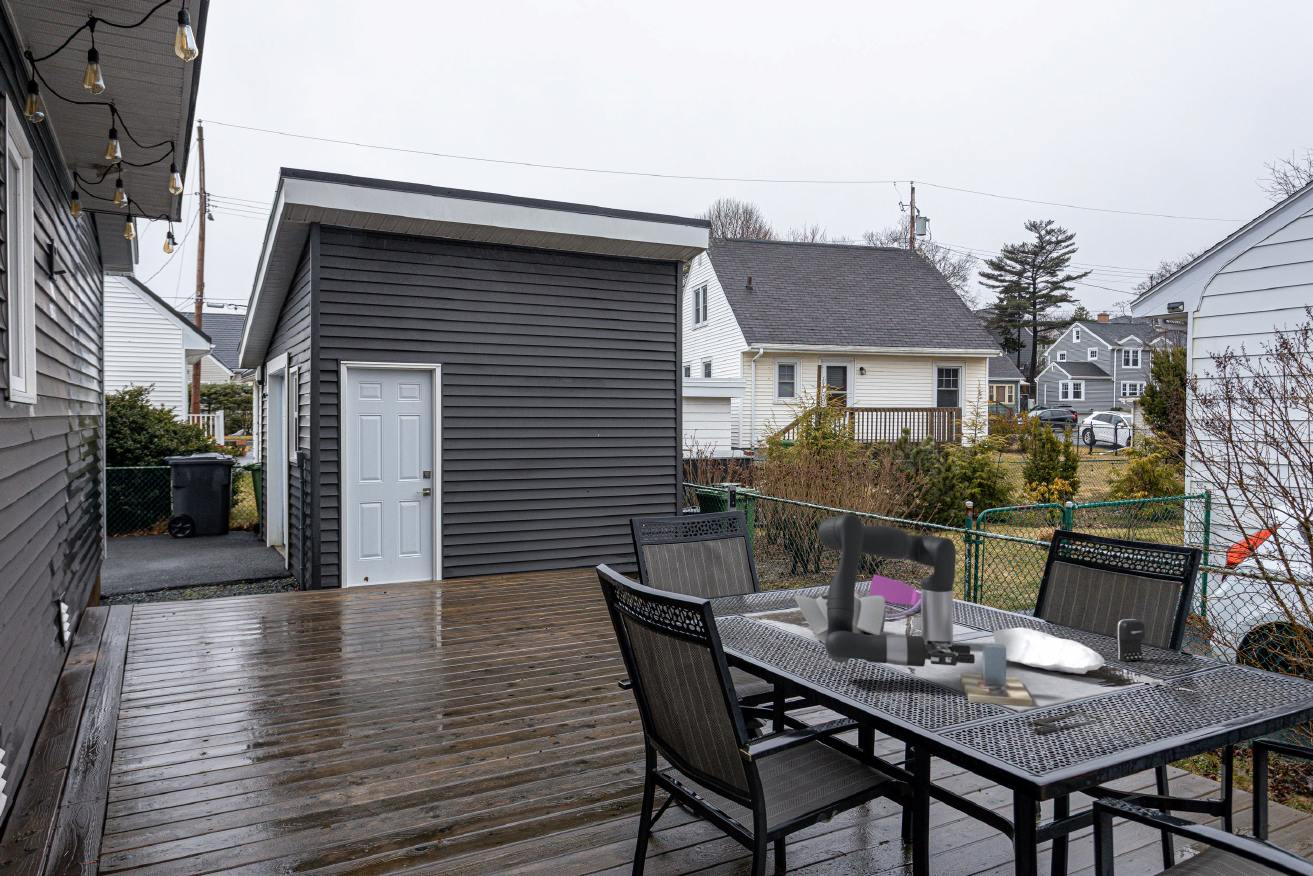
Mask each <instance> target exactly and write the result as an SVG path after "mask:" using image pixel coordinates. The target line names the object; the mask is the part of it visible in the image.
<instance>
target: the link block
mask: <svg viewBox="0 0 1313 876" xmlns="http://www.w3.org/2000/svg"><path fill="white" fill-rule="evenodd" d="M982 674H983V684H984V686H985V687H988V686H991V687H993V686H999V687H1004V688H1006V677H1007V660H1006V647H1005V645H1004V644H995V643H982Z"/></svg>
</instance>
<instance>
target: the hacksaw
mask: <svg viewBox="0 0 1313 876" xmlns="http://www.w3.org/2000/svg"><path fill="white" fill-rule="evenodd" d="M1069 707H1076V708H1080V709H1082V710H1080V711H1078V710H1076V711H1073V710H1072V709H1071V708H1069ZM1065 708H1066V709H1067V710H1068V711H1069V712H1065V713H1064V714H1061V715H1057V716H1050V717H1046V718H1041V719H1036V720H1032V722H1028V719H1026V718H1025V719H1022V720H1021V722H1022V723H1025V724H1028V725H1038V726H1044V727H1034V728H1033V733H1035V734H1037V735H1039V736H1042V735H1045V734H1048V733H1054V732H1057V731H1061V730H1062V729H1069V728H1072V727H1074V728H1075V727H1078V726H1079V727H1080V726H1083V725H1088V724H1093V723H1097V722H1098V721H1101V722H1103V721H1104V720H1103V718H1101V717H1097V716H1092V715H1088V714H1084V713H1083V712H1084V710H1085V709H1084V708H1083V707H1082V706H1078V705H1071V704H1070V705H1066V706H1065ZM1076 715H1080V716H1082V717H1088V718H1092V719H1096V720H1088V721H1082V722H1077V723H1076V722H1075V723H1071V724H1066V725H1060V726H1059V725H1054V724H1050V723H1049V722H1052V721H1053V722H1054V721H1058V720H1062V719H1065V718H1069V717H1072V716H1076ZM1026 721H1027V722H1026Z"/></svg>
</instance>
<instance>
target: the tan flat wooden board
mask: <svg viewBox="0 0 1313 876" xmlns="http://www.w3.org/2000/svg"><path fill="white" fill-rule="evenodd" d="M960 681H961V685H962V687H963V690H964V692H965V695H966V697H967V700H968V702H969V703H979V704H980V703H982V704H983V703H984V704H996V705H1009V706H1010V705H1011V706H1021V707H1023V706H1025V707H1033V699H1032V698H1031V696H1030V695H1029V693H1028V691H1027V690H1026V688H1025V686H1024V685H1023V683H1022V682H1021V680H1020V678H1019V677H1015V676H1014V677H1013V676H1006V688H1004V687H999V686H993V687H991V686H988V687H985V686H984V684H983V673H982V675H981V674H979V675H978V674H966V673H965V674H963V673H961V674H960Z"/></svg>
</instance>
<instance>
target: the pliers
mask: <svg viewBox="0 0 1313 876" xmlns="http://www.w3.org/2000/svg"><path fill="white" fill-rule="evenodd" d="M1133 679H1134V680H1138V681H1140V682H1144V683H1149V684H1160V685H1164V686H1166V685H1168V684H1166V682H1164V681H1163V680H1159V679H1155V678H1152V677H1149V676H1147V675H1142V676H1138V675H1137V676H1136V675H1134V676H1133ZM1134 680H1133V681H1134ZM1160 685H1159V686H1160ZM1181 689H1182V690H1187V691H1192V692H1193V691H1194V692H1197V691H1195V690H1192V689H1189V688H1183V687H1180V688H1179V690H1181ZM1176 690H1178V688H1177V689H1176Z"/></svg>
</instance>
